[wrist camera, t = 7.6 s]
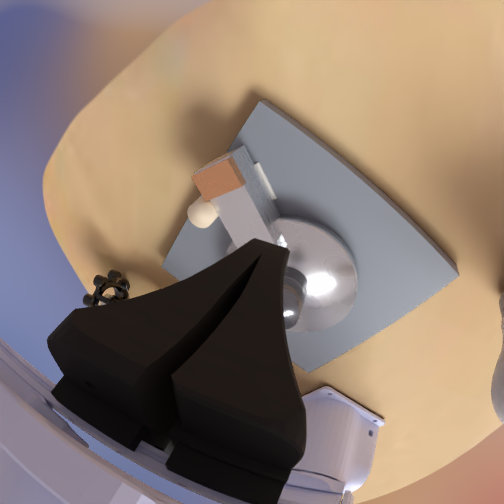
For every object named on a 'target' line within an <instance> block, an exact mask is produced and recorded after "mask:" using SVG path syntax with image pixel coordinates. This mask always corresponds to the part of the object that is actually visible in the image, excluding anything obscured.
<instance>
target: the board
mask: <svg viewBox="0 0 504 504" xmlns="http://www.w3.org/2000/svg"><path fill="white" fill-rule="evenodd" d="M243 145H245V147H246V149H247V151H248V153H249V155H250V157H251V159H252V161H253V163H254V164H255V166H256V168H257V170H258V172H259V174H260V176H261V178H262V180H263V182H264V184H265V186H266V188H267V190H268V192H269V194H270V195H271V197H272V199H273V201H274V203H275V205H276V207H277V209H278V211H279V213H280V214H290V215H297V216H302V217H305V218H309V219H311V220H314V221H316V222H319V223H320V224H322V225H324V226H326V227H327V228H329V229H330V230H332V231H333V232H334V233H336V234H337V235H338V236H339V237H340V238H341V239H342V240H343V241H344V242H345V244H346V245H347V246H348V248H349V249H350V251H351V252H352V254H353V256H354V259H355V261H356V264H357V268H358V274H359V281H358V289H357V295H356V300H355V302H354V305H353V307H352V308H351V310H350V312H349V313H348V314H347V315H346V316H345V318H343V319H342V320H341V321H340V322H338V323H337V324H335V325H333V326H331V327H329V328H327V329H323V330H320V331H315V332H292V331H286V336H287V343H288V348H289V353H290V357H291V361H292V362H293V363H295V364H296V365H298V366H299V367H301V368H302V369H304V370H305V371H307V372H308V373H310V372H311V371H313V370H315V369H317V368H319V367H321V366H322V365H324V364H326V363H328V362H330V361H331V360H333V359H335V358H337V357H338V356H340V355H342V354H344V353H345V352H347V351H349V350H350V349H352V348H354V347H356V346H357V345H359V344H360V343H362V342H364V341H365V340H367V339H369V338H370V337H372V336H373V335H375V334H377V333H378V332H380V331H381V330H383V329H385V328H386V327H388V326H389V325H391V324H392V323H394V322H395V321H397V320H398V319H400V318H401V317H403V316H404V315H406V314H407V313H409V312H410V311H412V310H413V309H415V308H416V307H417V306H419V305H420V304H422V303H423V302H424V301H426V300H427V299H429V298H430V297H431V296H433V295H434V294H436V293H437V292H438V291H440V290H441V289H442V288H444V287H445V286H446V285H448V284H449V283H450V282H452V281H453V280H454V279H456V278H457V277H458V276H459V272H458V268H457V266H456V265H455V264H454V263H453V261H452V260H451V259H450V258H449V257H448V256H447V255H446V254H445V253H444V252H443V251H442V250H441V249H440V247H439V246H438V245H437V244H436V243H435V242H434V241H433V240H432V239H431V238H430V237H429V236H428V235H427V234H426V233H425V232H424V231H423V230H422V229H421V228H420V227H419V226H418V225H417V224H416V223H415V222H414V221H413V220H412V219H411V218H410V217H409V216H408V215H407V214H406V213H405V212H404V211H403V210H402V209H400V208H399V207H398V206H397V205H396V204H395V203H394V202H393V201H392V200H391V199H390V198H389V197H388V196H387V195H385V194H384V193H383V192H382V191H381V190H380V189H379V188H378V187H377V186H375V185H374V184H373V183H372V182H371V181H370V180H369V179H368V178H366V177H365V176H364V175H363V174H362V173H361V172H359V171H358V170H357V169H356V168H355V167H354V166H352V165H351V164H350V163H349V162H348V161H346V160H345V159H344V158H343V157H342V156H340V155H339V154H338V153H337V152H335V151H334V150H333V149H332V148H330V147H329V146H328V145H327V144H325V143H324V142H323V141H322V140H320V139H319V138H318V137H316V136H315V135H314V134H312V133H311V132H310V131H309V130H307V129H306V128H305V127H303V126H302V125H301V124H299V123H298V122H297V121H295V120H294V119H292V118H291V117H290V116H288V115H287V114H286V113H284V112H283V111H281V110H280V109H278V108H277V107H276V106H274V105H273V104H271V103H270V102H268V101H267V100H266V99H264V100H262V101H259V103H258V104H257V106H256V107H255V109H254V110H253V112H252V113H251V115H250V116H249V118H248V119H247V121H246V122H245V124H244V126H243V127H242V129H241V130H240V132H239V133H238V135H237V137H236V138H235V140H234V141H233V143H232V145H231V146H230V148H229V149H228V151H227V153H228V152H230V151H232V150H234V149H237V148H239V147H241V146H243ZM187 214H188V219H187V220H186V222H185V224H184V226H183V228H182V229H181V231H180V233H179V235H178V237H177V238H176V240H175V242H174V244H173V246H172V248H171V249H170V251H169V253H168V255H167V257H166V259H165V261H164V262H163V264H162V266H161V267H162V268H163V269H165V270H166V271H167V272H169V273H170V274H171V275H172V276H174V277H175V278H176V279H178V280H179V281H182V280H184V279H186V278H188V277H190V276H192V275H194V274H196V273H198V272H200V271H202V270H203V269H205V268H207V267H209V266H211V265H213V264H214V263H216V262H217V261H219V260H221V259H222V258H224V257H225V255H226V252H227V249H228V247H229V246H230V244H231V242H232V241H233V240H232V238H231V237H230V235H229V233H228V231H227V230H226V228H225V226H224V224H223V223H222V221H221V219H220V217H219V216H218V214H217V212H216V210H215V209H214V207H213V205H212V203H211V202H210V200H209V201H206V202H205V200H204V198H203V197H202V195H201V196H200V197H199V198H198V199H197V200H196V201H195V202H194V203H192V204H191V205H190V206H189V208H188V211H187Z"/></svg>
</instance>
